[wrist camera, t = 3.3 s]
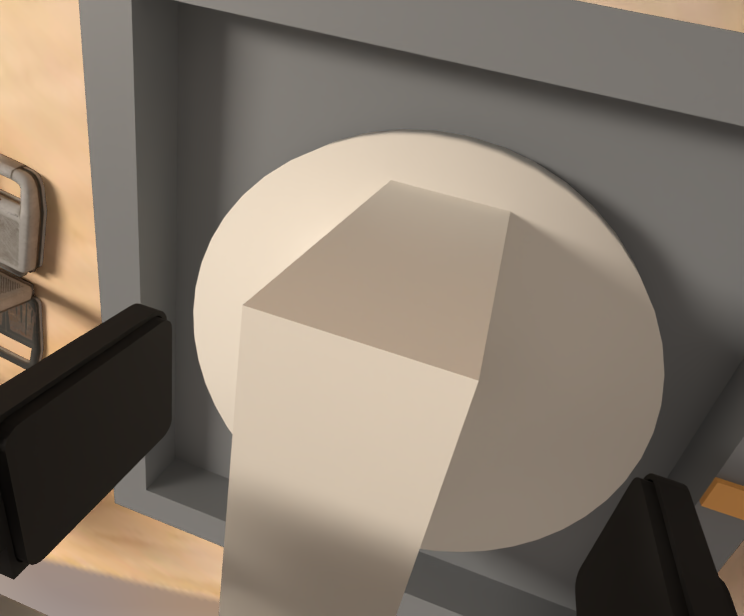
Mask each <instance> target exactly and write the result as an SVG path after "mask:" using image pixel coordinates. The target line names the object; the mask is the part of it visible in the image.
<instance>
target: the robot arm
mask: <svg viewBox="0 0 744 616" xmlns="http://www.w3.org/2000/svg"><path fill="white" fill-rule="evenodd" d="M171 422H172V324H171V322H170V321H168V320H167V316H166V314H165V313H164V312H163V311H161V310H158V309H154V308H151V307H148V306H145V305H142V304H138V303H135V304H133V305H131V306H129V307H128V308H126V309H124V310H123V311H121V312H119V313H118V314H116V315H115V316H113V317H111V318H110V319H108V320H106V321H105V322H103V323H101V324H100V325H98V326H97V327H95V328H93V329H92V330H90V331H88V332H87V333H85V334H84V335H82V336H80V337H79V338H77V339H75V340H74V341H72V342H70V343H69V344H67V345H66V346H64V347H62V348H61V349H59V350H57V351H56V352H54V353H53V354H51V355H49V356H48V357H46V358H44V359H43V360H41V361H39V362H38V363H36V364H35V365H33V366H31V367H30V368H28V369H26V370H25V371H23V372H22V373H20V374H18V375H17V376H15V377H13V378H12V379H10V380H8V381H7V382H5V383H4V384H2V385H0V574H3V575H5V576H7V577H9V578H11V579H15V578H16V577H17V576H18V575H19V574H20V573H21V572H22V571H23V570H24V569H25V568H26V567H27V566H28V565H29V564H31V565H34V564H37V563H39V562H40V561H42V560H43V559H44V558H45V557H46V556H47V555H48V554H49V553H50V552H51V551H52V550H53V549H54V548H55V547H56V546H57V545H58V544H59V543H60V542H61V541H62V540H63V539H64V538H65V537H66V536H67V535H68V534H69V533H70V532H71V531H72V530H73V529H74V528H75V526H76V525H77V524H78V523H79V522H80V521H81V520H82V519H83V518H84V517H85V516H86V515H87V514H88V513H89V512H90V511H91V510H92V509H93V508H94V507H95V506H96V505H97V504H98V503H99V502H100V501H101V500H102V499H103V498H104V497H105V496H106V495H107V494H108V493H109V492H110V491H111V490H112V489H113V488H114V487H115V486H116V485H117V484H118V483H119V482H120V481H121V480H122V479H123V478H124V477H125V476H126V475H127V474H128V473H129V472H130V471H131V470H132V469H133V468H134V467H135V466H136V465H137V464H138V462H139V461H140V460H141V459H142V458H143V457H144V456H145V455H146V454H147V453H148V452H149V451H150V450H151V449H152V448H153V447H154V446H155V445H156V444H157V443H158V442H159V441H160V440H161V439H162V438H163V437H164V436H165V435H166V433H167V432H168V430H169V428H170V425H171ZM575 599H576V614H577V616H738V615H737V613H736V610H735V607H734V604H733V601H732V598H731V596H730V593H729V591H728V589H727V587H726V585H725V583H724V582H723V581H722V580H721V579H720V578H719V576H718V573H717V570H716V567H715V564H714V562H713V559H712V556H711V553H710V550H709V547H708V544H707V541H706V538H705V535H704V532H703V529H702V527H701V524H700V521H699V518H698V515H697V512H696V509H695V506H694V503H693V500H692V497H691V494H690V492H689V489H688V487H687V486H686V485H685V484H683V483H680V482H677V481H674V480H671V479H668V478H665V477H662V476H659V475H656V474H653V473H649V474H648V475H646V476H645V477H644V479H642V478H639V477H636V478H634V479H633V480H632V481H631V483H630V485H629V486H628V488H627V490H626V491H625V493H624V495H623V496H622V498H621V500H620V502H619V503H618V505H617V507H616V508H615V510H614V512H613V513H612V515H611V517H610V518H609V520H608V522H607V523H606V525H605V527H604V528H603V530H602V532H601V534H600V535H599V537H598V539H597V540H596V542H595V544H594V545H593V547H592V549H591V550H590V552H589V554H588V555H587V557H586V559H585V561H584V562H583V564H582V566H581V567H580V569H579V571H578V574H577V577H576V583H575ZM0 616H47V615H46V614H43V613H41V612H39V611H37V610H34V609H32V608H30V607H28V606H25V605H23V604H21V603H19V602H16V601H14V600H12V599H10V598H8V597H6V596H3V595H1V594H0Z"/></svg>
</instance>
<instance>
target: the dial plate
mask: <svg viewBox="0 0 744 616" xmlns="http://www.w3.org/2000/svg"><path fill="white" fill-rule="evenodd" d="M79 11H80V25H81V39H82V53H83V67H84V81H85V95H86V109H87V123H88V136H89V150H90V164H91V178H92V192H93V206H94V220H95V234H96V248H97V262H98V275H99V289H100V303H101V317H102V323H103V322H105V321H106V320H108V319H110V318H111V317H113V316H115V315H116V314H118V313H119V312H121V311H123V310H124V309H126V308H128V307H129V306H131V305H133V304H135V303H138V304H142V305H145V306H148V307H151V308H154V309H158V310H161V311H163V312H164V313H165V314H166V316H167V320H168V321H170V322H171V324H172V422H171V425H170V428H169V430H168V432H167V433H166V435H165V436H164V437H163V438H162V439H161V440H160V441H159V442H158V443H157V444H156V445H155V446H154V447H153V448H152V449H151V450H150V451H149V452H148V453H147V454H146V455H145V456H144V457H143V458H142V459H141V460H140V461H139V462H138V464H137V465H136V466H135V467H134V468H133V469H132V470H131V471H130V472H129V473H128V474H127V475H126V476H125V477H124V478H123V479H122V480H121V481H120V482H119V483H118V484H117V485H116V486H115V487H114V498H115V503H116V504H119V505H121V506H124V507H126V508H128V509H131V510H133V511H136V512H138V513H141V514H143V515H146V516H148V517H151V518H153V519H156V520H158V521H161V522H163V523H165V524H168V525H170V526H173V527H175V528H178V529H180V530H183V531H185V532H188V533H190V534H193V535H195V536H198V537H200V538H203V539H205V540H207V541H210V542H212V543H215V544H217V545H220V546H222V547H224V539H225V526H226V513H227V500H228V487H229V474H230V461H231V448H232V435H233V434H232V433H231V432H230V430H229V429H228V427H227V426H226V424H225V422H224V420H223V419H222V417H221V415H220V413H219V412H218V410H217V408H216V406H215V404H214V402H213V400H212V397H211V395H210V393H209V390H208V388H207V386H206V383H205V380H204V377H203V374H202V370H201V367H200V364H199V360H198V355H197V349H196V343H195V337H194V317H193V309H194V299H195V288H196V283H197V279H198V275H199V271H200V267H201V263H202V260H203V258H204V256H205V253H206V251H207V248H208V246H209V243H210V241H211V239H212V237H213V235H214V234H215V232H216V230H217V229H218V227H219V225H220V224H221V222H222V220H223V219H224V217H225V216H226V215H227V213H228V212H229V211H230V210H231V209H232V207H233V206H234V205H235V204H236V203H237V202H238V200H239V199H240V198H241V197H242V196H243V195H244V194H245V193H246V192H247V191H248V190H249V189H251V188H252V187H253V186H254V185H255V184H256V183H258V182H259V181H260V180H261V179H262V178H263V177H265V176H266V175H268V174H269V173H271V172H273V171H274V170H276V169H277V168H279V167H281V166H282V165H284V164H286V163H287V162H289V161H290V160H293V159H295V158H297V157H300V156H302V155H304V154H307V153H309V152H311V151H314V150H316V149H319V148H321V147H323V146H326V145H328V144H330V143H333V142H335V141H338V140H342V139H345V138H349V137H353V136H357V135H361V134H365V133H370V132H379V131H388V130H397V129H411V130H436V131H442V132H448V133H454V134H459V135H465V136H470V137H473V138H477V139H480V140H483V141H486V142H489V143H492V144H495V145H499V146H502V147H505V148H507V149H509V150H511V151H513V152H515V153H517V154H519V155H521V156H523V157H526V158H528V159H530V160H532V161H534V162H536V163H538V164H539V165H541V166H542V167H544V168H545V169H547V170H548V171H550V172H551V173H553V174H554V175H556V176H557V177H559V178H560V179H562V180H563V181H565V182H566V183H568V184H569V185H570V186H571V187H572V188H573V189H574V190H575V191H577V192H578V193H579V194H580V195H581V196H582V197H583V198H585V199H586V200H587V201H588V202H589V203H590V204H591V205H592V206H593V207H594V208H595V209H596V210H597V211H598V212H599V214H600V215H601V216H602V217H603V218H604V220H605V221H606V222H607V223H608V224H609V225H610V227H611V228H612V229H613V230H614V231H615V233H616V234H617V236H618V237H619V239H620V241H621V242H622V244H623V246H624V247H625V249H626V250H627V252H628V254H629V255H630V257H631V259H632V260H633V262H634V264H635V266H636V269H637V271H638V273H639V275H640V277H641V280H642V282H643V284H644V287H645V289H646V292H647V294H648V296H649V299H650V301H651V304H652V306H653V308H654V311H655V314H656V319H657V323H658V327H659V331H660V336H661V340H662V345H663V360H664V384H663V394H662V403H661V408H660V411H659V415H658V418H657V422H656V425H655V429H654V432H653V435H652V437H651V439H650V441H649V443H648V445H647V447H646V449H645V451H644V453H643V455H642V458H641V459H640V461H639V462H638V463H637V465H636V466H635V468H634V469H633V471H632V472H631V473H630V475H629V476H628V478H627V479H626V481H625V482H624V483H623V484H622V485H621V486H620V487H619V488H618V489H617V490H616V491H615V492H614V493H613V494H612V495H611V496H610V497H609V498H608V499H607V500H606V501H605V502H604V503H602V504H601V505H600V506H598V507H597V508H596V509H594V510H593V511H592V512H591V513H589V514H588V515H587V516H585V517H584V518H582V519H580V520H578V521H577V522H575V523H573V524H571V525H570V526H568V527H566V528H564V529H563V530H560V531H558V532H555V533H553V534H550V535H548V536H545V537H543V538H541V539H538V540H535V541H531V542H527V543H524V544H520V545H517V546H513V547H507V548H501V549H494V550H488V551H472V552H448V551H432V550H425V549H419V552H418V555H417V558H416V560H415V563H414V566H413V569H412V572H411V575H410V577H409V580H408V583H407V586H406V589H405V592H404V594H403V597H402V600H401V603H400V606H399V609H398V612H397V614H396V616H577V614H576V599H575V583H576V577H577V574H578V571H579V569H580V567H581V566H582V564H583V562H584V561H585V559H586V557H587V555H588V554H589V552H590V550H591V549H592V547H593V545H594V544H595V542H596V540H597V539H598V537H599V535H600V534H601V532H602V530H603V528H604V527H605V525H606V523H607V522H608V520H609V518H610V517H611V515H612V513H613V512H614V510H615V508H616V507H617V505H618V503H619V502H620V500H621V498H622V496H623V495H624V493H625V491H626V490H627V488H628V486H629V485H630V483H631V481H632V480H633V479H634V478H636V477H639V478H642V479H644V477H645V476H646V475H648V474H649V473H653V474H656V475H659V476H662V477H665V478H668V479H671V480H674V481H677V482H680V483H683V484H685V485H686V486H687V487H688V489H689V492H690V494H691V497H692V500H693V503H694V506H695V509H696V512H697V515H698V518H699V521H700V524H701V527H702V529H703V532H704V535H705V538H706V541H707V544H708V547H709V550H710V553H711V556H712V559H713V562H714V564H715V567H716V570H717V573H718V572H719V570H720V569H721V568H722V566H723V565H724V564H725V563H726V561H727V560H728V559H729V558H730V556H731V555H732V554H733V553H734V551H735V550H736V549H737V548H738V546H739V545H740V544H741V543H742V541H743V540H744V33H741V32H736V31H731V30H725V29H720V28H715V27H710V26H705V25H700V24H695V23H689V22H684V21H679V20H674V19H669V18H664V17H658V16H653V15H648V14H643V13H638V12H633V11H628V10H622V9H617V8H612V7H607V6H602V5H597V4H591V3H586V2H581V1H576V0H79Z"/></svg>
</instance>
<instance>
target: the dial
mask: <svg viewBox="0 0 744 616" xmlns="http://www.w3.org/2000/svg"><path fill="white" fill-rule="evenodd" d="M193 317H194V337H195V343H196V349H197V355H198V360H199V364H200V367H201V370H202V374H203V377H204V380H205V383H206V386H207V388H208V390H209V393H210V395H211V397H212V400H213V402H214V404H215V406H216V408H217V410H218V412H219V413H220V415H221V417H222V419H223V420H224V422H225V424H226V426H227V427H228V429H229V430H230V432H231V433H232V434H233V435H232V448H231V461H230V474H229V487H228V500H227V513H226V526H225V539H224V553H223V566H222V579H221V592H220V605H219V616H396V614H397V612H398V609H399V606H400V603H401V600H402V597H403V594H404V592H405V589H406V586H407V583H408V580H409V577H410V575H411V572H412V569H413V566H414V563H415V560H416V558H417V555H418V552H419V549H425V550H432V551H448V552H472V551H488V550H494V549H501V548H507V547H513V546H517V545H520V544H524V543H527V542H531V541H535V540H538V539H541V538H543V537H545V536H548V535H550V534H553V533H555V532H558V531H560V530H563V529H564V528H566V527H568V526H570V525H571V524H573V523H575V522H577V521H578V520H580V519H582V518H584V517H585V516H587V515H588V514H589V513H591V512H592V511H593V510H594V509H596V508H597V507H598V506H600V505H601V504H602V503H604V502H605V501H606V500H607V499H608V498H609V497H610V496H611V495H612V494H613V493H614V492H615V491H616V490H617V489H618V488H619V487H620V486H621V485H622V484H623V483H624V482H625V481H626V479H627V478H628V476H629V475H630V473H631V472H632V471H633V469H634V468H635V466H636V465H637V463H638V462H639V461H640V459H641V458H642V455H643V453H644V451H645V449H646V447H647V445H648V443H649V441H650V439H651V437H652V435H653V432H654V429H655V425H656V422H657V418H658V415H659V411H660V408H661V403H662V394H663V384H664V360H663V345H662V340H661V336H660V331H659V327H658V323H657V319H656V314H655V311H654V308H653V306H652V304H651V301H650V299H649V296H648V294H647V292H646V289H645V287H644V284H643V282H642V280H641V277H640V275H639V273H638V271H637V269H636V266H635V264H634V262H633V260H632V259H631V257H630V255H629V254H628V252H627V250H626V249H625V247H624V246H623V244H622V242H621V241H620V239H619V237H618V236H617V234H616V233H615V231H614V230H613V229H612V228H611V227H610V225H609V224H608V223H607V222H606V221H605V220H604V218H603V217H602V216H601V215H600V214H599V212H598V211H597V210H596V209H595V208H594V207H593V206H592V205H591V204H590V203H589V202H588V201H587V200H586V199H585V198H583V197H582V196H581V195H580V194H579V193H578V192H577V191H575V190H574V189H573V188H572V187H571V186H570V185H569V184H568V183H566V182H565V181H563V180H562V179H560V178H559V177H557V176H556V175H554V174H553V173H551V172H550V171H548V170H547V169H545V168H544V167H542V166H541V165H539V164H538V163H536V162H534V161H532V160H530V159H528V158H526V157H523V156H521V155H519V154H517V153H515V152H513V151H511V150H509V149H507V148H505V147H502V146H499V145H495V144H492V143H489V142H486V141H483V140H480V139H477V138H473V137H470V136H465V135H459V134H454V133H448V132H442V131H436V130H411V129H397V130H388V131H379V132H370V133H365V134H361V135H357V136H353V137H349V138H345V139H342V140H338V141H335V142H333V143H330V144H328V145H326V146H323V147H321V148H319V149H316V150H314V151H311V152H309V153H307V154H304V155H302V156H300V157H297V158H295V159H293V160H290V161H289V162H287V163H286V164H284V165H282V166H281V167H279V168H277V169H276V170H274V171H273V172H271V173H269V174H268V175H266V176H265V177H263V178H262V179H261V180H260V181H259V182H258V183H256V184H255V185H254V186H253V187H252V188H251V189H249V190H248V191H247V192H246V193H245V194H244V195H243V196H242V197H241V198H240V199H239V200H238V202H237V203H236V204H235V205H234V206H233V207H232V209H231V210H230V211H229V212H228V213H227V215H226V216H225V217H224V219H223V220H222V222H221V224H220V225H219V227H218V229H217V230H216V232H215V234H214V235H213V237H212V239H211V241H210V243H209V246H208V248H207V251H206V253H205V256H204V258H203V260H202V263H201V267H200V271H199V275H198V279H197V283H196V288H195V299H194V309H193Z"/></svg>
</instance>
